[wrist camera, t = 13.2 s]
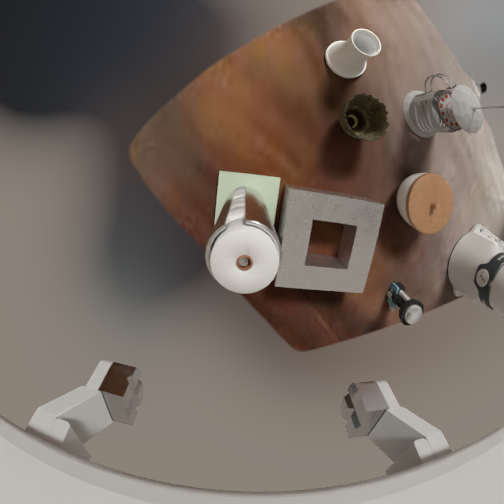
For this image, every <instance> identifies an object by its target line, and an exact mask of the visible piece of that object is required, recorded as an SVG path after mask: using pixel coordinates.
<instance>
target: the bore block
mask: <svg viewBox="0 0 504 504" xmlns="http://www.w3.org/2000/svg"><path fill="white" fill-rule="evenodd" d="M383 210H384V204H382V203H379V202H377V201H375V200H372V199H370V198H365V197H360V196H354V195H349V194H343V193H338V192H332V191H326V190H320V189H313V188H307V187H300V186H293V185H286V184H285V186H284V193H283V200H282V207H281V214H280V221H279V228H278V235H277V236H278V239H279V242H280V245H281V248H282V262H281V266H280V269H279V271H278V272H277V274H276V276H275V277H274V279H273V280H274V285H275V287H287V288H299V289H311V290H325V291H339V292H354V293H363V290H364V286H365V283H366V279H367V276H368V272H369V269H370V265H371V261H372V258H373V254H374V250H375V246H376V242H377V237H378V233H379V229H380V224H381V220H382V215H383ZM313 220H320V221H328V222H335V223H342V224H344V226H343V231H342V236H341V241H340V245H339V250H338V254H337V257H335V256H325V255H316V254H307V249H308V244H309V239H310V233H311V228H312V222H313Z"/></svg>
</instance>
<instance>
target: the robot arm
mask: <svg viewBox="0 0 504 504" xmlns="http://www.w3.org/2000/svg"><path fill="white" fill-rule="evenodd" d="M448 276H449V280H450V282H451V284H452V285H453V292H454V295H455V296H457V297H459V296H463V295H464V296H465V297H467V298H468V299H470V300H471V301H473V302H474V303H479V302H483V303H484V304H485V305H486V306H487V307H489V308H490V309H494V310H496V311H497V312H498V313H499V314H500V315H502V316H503V317H504V241H502V240H500V239H499V238H497V237H496V236H495V235H494V234H492V233H491V232H490V231H488V230H487V229H486V228H484V227H483V226H482V225H480V224H478V223H476V224H475V225H474V227H473V228H472V229H471V231H470V232H469V233H467V234H466V235H465V236H463V237H462V238H461V239H460V240H459V242H458V243H457V245H456V246H455V248H454V250H453V252H452V254H451V257H450V261H449V266H448ZM139 377H140V370H139V368H136V367H132V366H128V365H124V364H120V363H116V362H111V361H108V360H105V359H103V360H101V361H100V362H99V364H98V366H97V367H96V369H95V371H94V373H93V374H92V376H91V378H90V379H89V381H88V383H87V385H86V386H81V387H79V388H77V389H75V390H73V391H71V392H69V393H67V394H65V395H63V396H61V397H59V398H57V399H55V400H53V401H51V402H49V403H47V404H45V405H43V406H40V407H39V408H38V409H37V411H36V412H35V414H34V415H33V417H32V419H31V421H30V422H29V424H28V426H27V427H26V429H25V430H24V429H22V428H21V427H19V426H17V425H15V424H14V423H12V422H11V421H9V420H7V419H6V418H4V417H3V416H1V415H0V504H504V426H502V427H500V428H498V429H496V430H494V431H492V432H491V433H489V434H487V435H485V436H484V437H482V438H480V439H478V440H476V441H475V442H472V443H470V444H468V445H466V446H464V447H462V448H460V449H458V450H455V451H453V452H452V451H451V449H450V447H449V445H448V443H447V441H446V439H445V438H444V436H443V434H442V432H441V431H440V430H438V429H437V428H435V427H433V426H432V425H430V424H429V423H427V422H426V421H424V420H422V419H421V418H419V417H418V416H416V415H414V414H413V413H412V412H410V411H409V410H407V409H406V408H404V407H400V406H399V404H398V402H397V400H396V398H395V396H394V394H393V392H392V391H391V389H390V387H389V385H388V383H387V382H386V381H384V380H382V381H374V382H373V381H372V382H360V383H352V384H351V385H350V386H349V388H348V392H349V394H347V395H346V396H345V397H344V398H343V400H342V404H341V413H342V417H343V418H344V419H345V420H346V421H347V423H346V425H345V426H346V430H347V432H348V436H349V438H355V437H362V436H367V437H368V438H369V439H370V440H371V441H372V442H373V443H374V444H375V445H376V446H377V447H379V448H380V449H381V450H382V451H383V452H384V453H385V454H386V455H387V456H388V457H389V458H390V459H391V460H392V461H394V463H393V464H392V465H391V466H390V467H389V468H388V469H387V470H386V474H387V475H385V476H382V477H378V478H373V479H369V480H365V481H360V482H355V483H350V484H345V485H339V486H332V487H325V488H317V489H307V490H296V491H276V492H246V491H226V490H215V489H205V488H196V487H190V486H183V485H177V484H171V483H166V482H161V481H156V480H152V479H147V478H143V477H140V476H136V475H132V474H129V473H125V472H121V471H118V470H115V469H112V468H109V467H106V466H103V465H100V464H97V463H94V462H92V461H90V458H91V456H90V454H89V453H88V451H87V450H86V449H85V447H84V446H83V444H84V443H86V442H87V441H88V440H90V439H91V438H92V437H94V436H95V435H96V434H98V433H99V432H100V431H101V430H103V429H104V428H105V427H106V426H108V425H109V424H110V423H112V420H113V421H116V422H120V423H124V424H129V425H133V423H134V421H135V418H136V415H137V410H136V407H137V406H138V405H140V403H141V400H142V396H143V385H142V382H141V381H140V380H139Z"/></svg>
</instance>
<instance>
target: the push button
mask: <svg viewBox="0 0 504 504" xmlns="http://www.w3.org/2000/svg"><path fill="white" fill-rule="evenodd" d="M404 291H405V287H404V286H403V285H402V284H401V283H400V282H399V283H392V284H391V289H390V292H389V291H388V292H387V296H388V303H389V305H390V306H389V309H391V312H392V311H394V308H395V307H396V308H397V309H398V310H399V317H400V320H401V322H402V323H403V324H404V325H411V324H414V323H416V322H418V320H420V318H421V316H422V313H423V309H424V308H423V304H422V303H421V302H420V301H417V300H415V299H410V298H409V297H408V296H407V295H406V294H405V293H404ZM388 293H389V295H388ZM416 304H417V305H416ZM390 307H391V308H390ZM392 309H393V310H392ZM404 318H405V319H404Z"/></svg>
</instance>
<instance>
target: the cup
mask: <svg viewBox="0 0 504 504" xmlns="http://www.w3.org/2000/svg"><path fill="white" fill-rule="evenodd" d="M378 101H379V99H378V98H373V97H372V95H367V94H361V95H359V94H357V95H356V96H354V97H352V98H351V99H350V100H349V101H348V102H347V103H346V104H345V105H344V106H343V107H342V109H341V111H340V116H339V119H340V124H341V126H342V128H343V130H344V131H345V132H346V133H347V134H349V135H350V136H352V137H354V138H357V139H362V140H366V141H374V140H375V139H380V137H381V136H383V135H385V134H386V133H387V127H389V122H386V120H387V117H386V115H387V114H388V112H387V111H385V110H386V106H385V105H384V104H383V103H380V102H378ZM348 117H351V118H353V119H354V122H355V123H354V125H353V126H349V125H348V122H347V118H348Z"/></svg>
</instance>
